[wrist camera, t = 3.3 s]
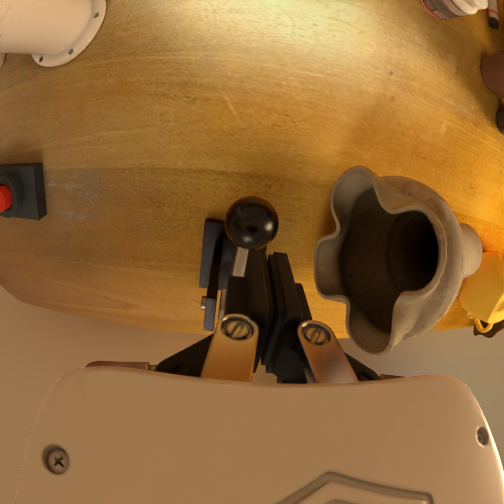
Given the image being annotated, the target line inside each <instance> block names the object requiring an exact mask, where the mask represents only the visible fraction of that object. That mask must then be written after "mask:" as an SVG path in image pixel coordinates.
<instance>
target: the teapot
mask: <svg viewBox="0 0 504 504" xmlns="http://www.w3.org/2000/svg"><path fill="white" fill-rule="evenodd" d="M459 301H460V304H461V306H462V307H463V308H464V309H465V310H466V316H467V317H468V318H469V319H472V318H474V322H475V325H476V327H477V329H478V330H479V331H480V332H482V333H484V332H487V331H489V330H490V329H491V328H492V326H493V324H494V323H497V322H500V321H501V320H503V319H504V251H502V252H501V253H500V252H495V251H490V252H484V253H483V256H482V261H481V263H480V265H479V268H478V269H477V271H476V272H475V273H474V274H472V275H470V276H469V277H468V278H464V279H463V280H462V284H461V287H460V290H459ZM479 319H480V320H482V321H484V322H487V323H489V324H488V326H487V327H486V328H483V327H482V325H481V323H480V320H479Z"/></svg>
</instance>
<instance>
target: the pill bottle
mask: <svg viewBox="0 0 504 504" xmlns="http://www.w3.org/2000/svg"><path fill="white" fill-rule="evenodd" d="M420 1H421V3H422V5H423V6H424V8H425V9H426V10H427V11H428V12H429V13H430V14H431V15H432V16H434V17H435V18H437V19H440V20H447V19H451V18H456V17H461V16H466V15H472V14H475V13H476V12H477V11H478V9H486V8H487V7H488V1H487V0H420Z"/></svg>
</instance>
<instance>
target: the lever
mask: <svg viewBox="0 0 504 504" xmlns="http://www.w3.org/2000/svg"><path fill="white" fill-rule="evenodd" d="M278 227H279V220H278V215H277V212H276V210H275V209H274V207H273V206H272V205H271V204H270V203H269V202H268V201H266V200H265V199H263V198H260V197H256V196H247V197H243V198H241V199H239V200H237V201H235V202H234V203H233V204H232V205H231V206H230V208H229V209H228V211H227V213H226V217H225V230H226V233H227V235H228V237H229V239H230V240H231V241H232V242H233V243H234V244H235V245H237V249H236V254H235V259H234V263H233V268H232V273H231V275H233V276H241V277H244V272H245V266H246V261H247V255H248V251H249V249H261V248H263V247H265V246H267V245H268V244H269V243H270V242H271V241H272V240H273V239H274V238H275V236H276V234H277V231H278ZM226 290H227V289H222V291H221V297H220V306H219V316H218V320H219V319H220V318H222V317H223V316H224V309H225V298H226Z"/></svg>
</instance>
